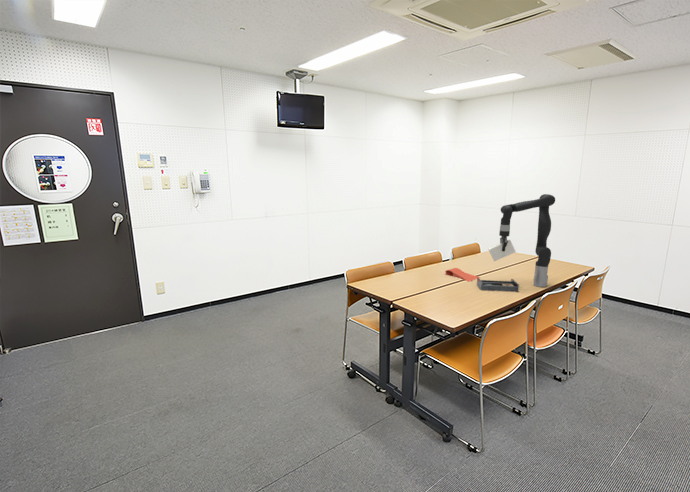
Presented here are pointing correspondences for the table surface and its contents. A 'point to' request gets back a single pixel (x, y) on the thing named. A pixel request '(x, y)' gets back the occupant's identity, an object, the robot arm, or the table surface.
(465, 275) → the sheet
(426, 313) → the table surface
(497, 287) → the rack
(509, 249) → the white flat board
